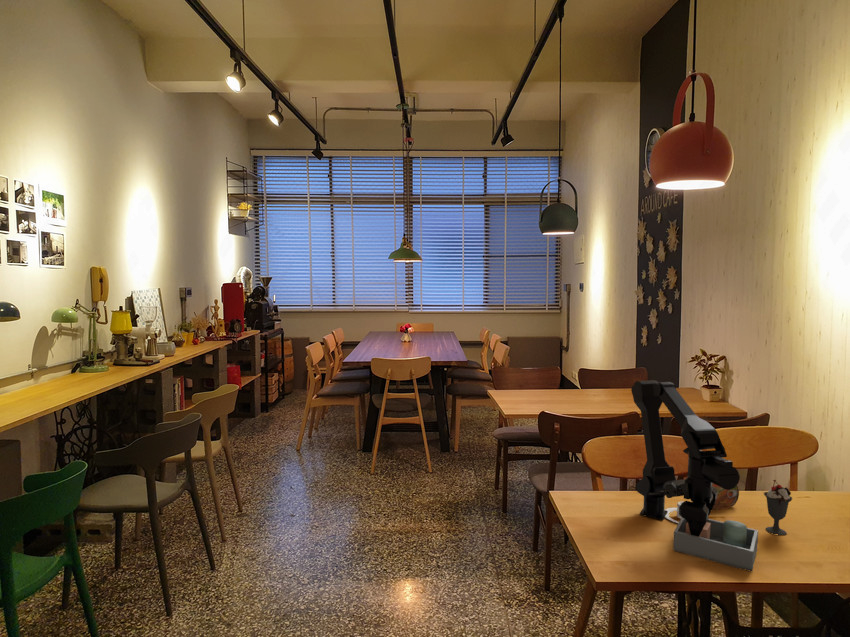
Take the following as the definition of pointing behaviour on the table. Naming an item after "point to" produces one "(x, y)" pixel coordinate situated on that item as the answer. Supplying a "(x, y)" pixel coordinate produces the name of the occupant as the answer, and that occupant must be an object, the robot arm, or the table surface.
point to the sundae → (777, 506)
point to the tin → (725, 497)
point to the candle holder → (672, 511)
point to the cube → (704, 533)
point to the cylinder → (735, 533)
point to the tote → (716, 546)
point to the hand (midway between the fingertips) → (697, 533)
